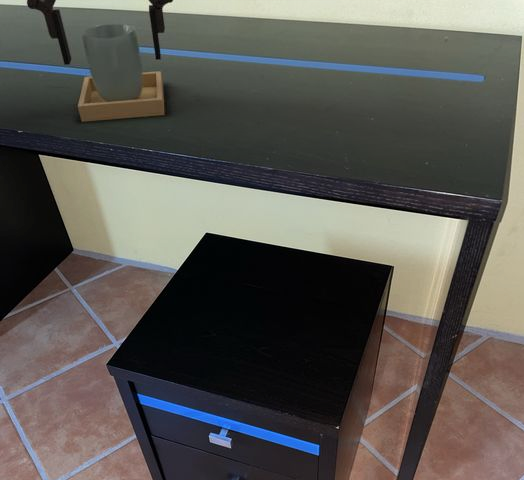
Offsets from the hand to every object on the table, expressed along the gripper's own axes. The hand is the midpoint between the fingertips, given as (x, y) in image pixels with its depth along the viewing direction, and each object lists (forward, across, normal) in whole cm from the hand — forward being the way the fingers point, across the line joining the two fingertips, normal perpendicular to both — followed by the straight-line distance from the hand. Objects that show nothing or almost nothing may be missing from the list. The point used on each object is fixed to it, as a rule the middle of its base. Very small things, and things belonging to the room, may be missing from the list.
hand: (113, 59), depth 80 cm
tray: (+7, 0, 0) cm, 7 cm away
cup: (+6, 0, 0) cm, 6 cm away
